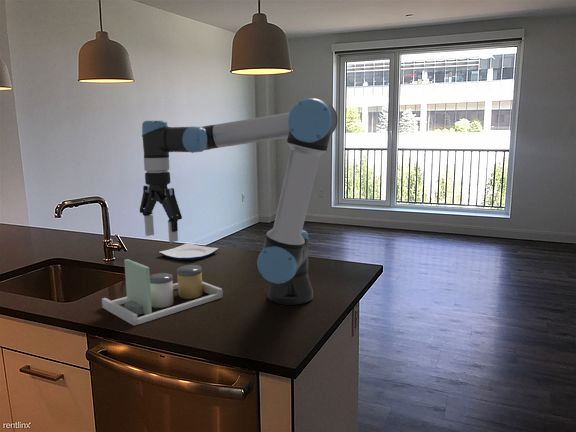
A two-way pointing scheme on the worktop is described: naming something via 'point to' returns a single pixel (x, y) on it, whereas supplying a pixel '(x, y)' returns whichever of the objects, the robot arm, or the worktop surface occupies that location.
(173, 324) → the worktop surface
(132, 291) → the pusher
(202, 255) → the plate
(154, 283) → the cream jar
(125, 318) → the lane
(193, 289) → the amber jar
